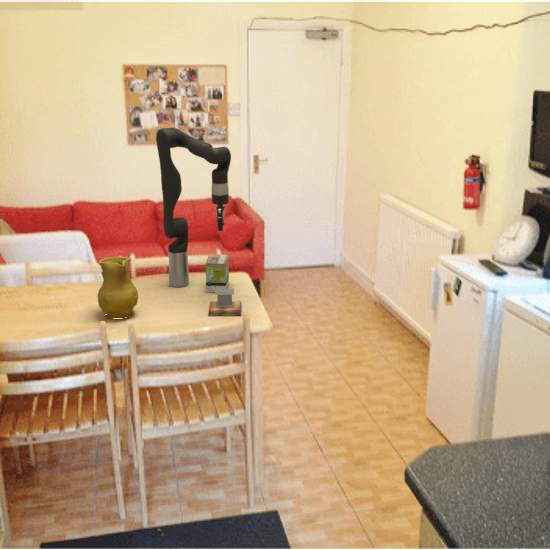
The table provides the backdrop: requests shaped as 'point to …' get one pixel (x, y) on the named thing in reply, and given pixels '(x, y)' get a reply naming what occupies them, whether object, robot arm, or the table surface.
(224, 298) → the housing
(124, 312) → the pitcher
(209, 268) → the tea box
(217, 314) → the stand
